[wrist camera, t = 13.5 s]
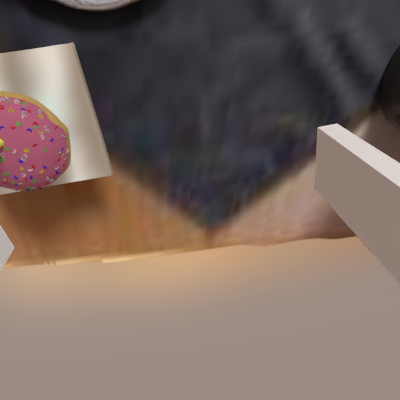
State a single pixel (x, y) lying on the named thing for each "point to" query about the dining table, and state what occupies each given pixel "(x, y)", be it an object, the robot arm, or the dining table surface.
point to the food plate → (96, 4)
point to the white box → (60, 104)
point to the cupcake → (30, 143)
